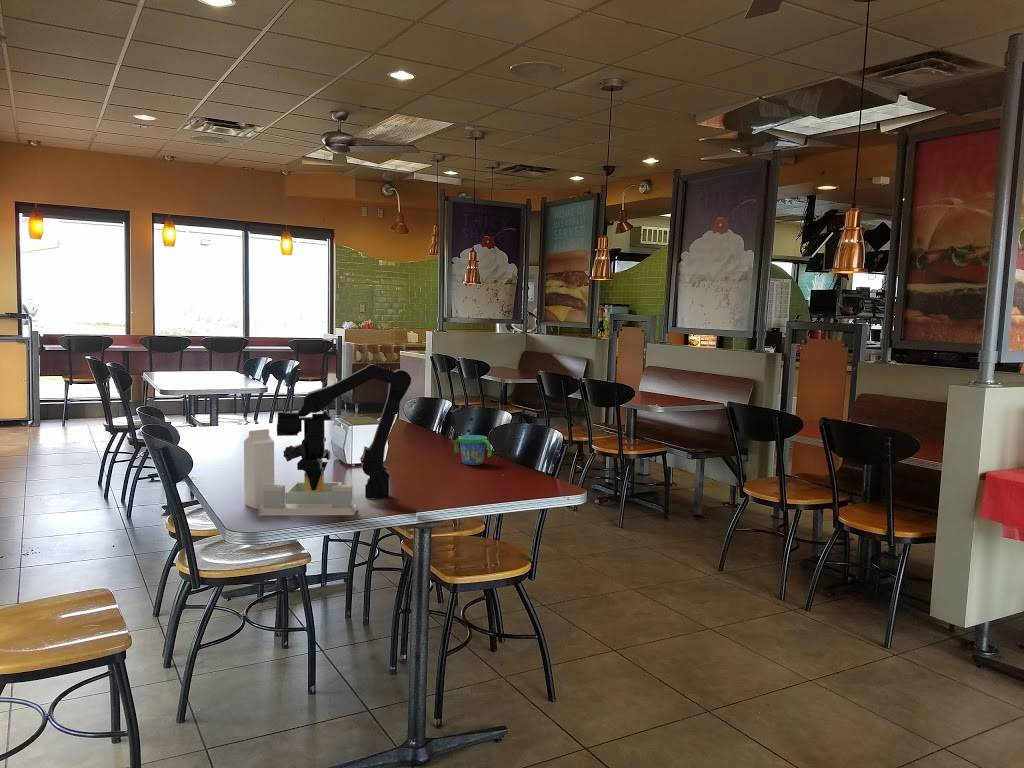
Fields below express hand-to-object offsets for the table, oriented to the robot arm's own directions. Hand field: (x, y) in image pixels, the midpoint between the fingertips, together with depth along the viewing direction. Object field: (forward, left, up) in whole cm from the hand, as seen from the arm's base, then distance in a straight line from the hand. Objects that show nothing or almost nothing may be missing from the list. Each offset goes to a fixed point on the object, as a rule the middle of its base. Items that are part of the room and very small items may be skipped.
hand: (314, 488), depth 218 cm
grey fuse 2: (-10, +15, -3) cm, 18 cm away
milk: (+14, +6, -4) cm, 16 cm away
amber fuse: (0, 0, -2) cm, 2 cm away
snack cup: (-47, -61, -4) cm, 77 cm away
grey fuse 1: (+8, +15, -3) cm, 17 cm away
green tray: (0, 0, -4) cm, 4 cm away
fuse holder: (-1, +15, -4) cm, 15 cm away
